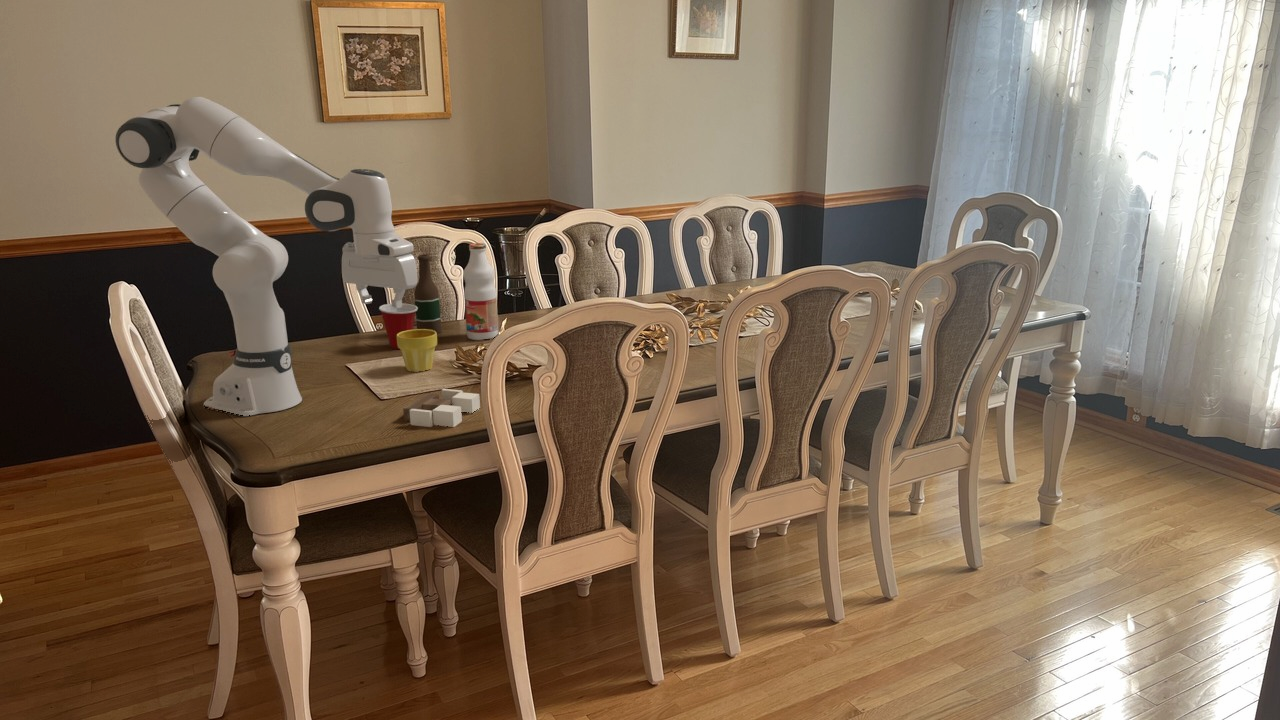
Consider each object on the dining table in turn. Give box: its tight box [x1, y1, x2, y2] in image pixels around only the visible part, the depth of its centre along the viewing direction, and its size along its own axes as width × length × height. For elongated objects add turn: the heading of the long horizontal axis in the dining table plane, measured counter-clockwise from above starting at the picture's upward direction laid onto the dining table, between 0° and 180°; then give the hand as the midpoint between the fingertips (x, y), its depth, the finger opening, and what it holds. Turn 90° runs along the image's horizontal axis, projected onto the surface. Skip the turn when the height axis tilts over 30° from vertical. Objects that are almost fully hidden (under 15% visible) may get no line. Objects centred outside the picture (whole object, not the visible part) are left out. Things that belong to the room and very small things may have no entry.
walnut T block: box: [402, 392, 452, 422], centre depth 214 cm, size 8×11×3 cm
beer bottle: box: [414, 254, 442, 335], centre depth 281 cm, size 8×8×24 cm
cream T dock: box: [409, 388, 481, 428], centre depth 213 cm, size 10×16×4 cm, turn 163°
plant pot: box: [397, 328, 438, 373], centre depth 247 cm, size 10×10×10 cm
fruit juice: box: [463, 242, 499, 341], centre depth 275 cm, size 9×9×28 cm
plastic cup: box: [378, 302, 418, 350], centre depth 268 cm, size 11×11×12 cm
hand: (382, 305), depth 209 cm, fingers open, 8 cm apart
